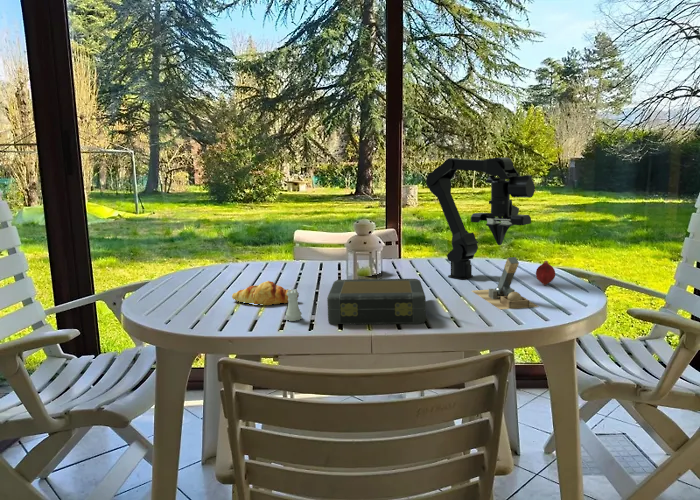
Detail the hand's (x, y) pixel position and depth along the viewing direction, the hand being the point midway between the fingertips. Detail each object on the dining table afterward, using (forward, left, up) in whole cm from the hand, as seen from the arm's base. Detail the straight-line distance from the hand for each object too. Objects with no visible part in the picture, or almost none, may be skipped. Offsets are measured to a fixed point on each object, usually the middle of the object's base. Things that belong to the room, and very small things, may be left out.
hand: (499, 244), depth 158 cm
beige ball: (+18, -24, -12) cm, 32 cm away
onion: (+12, +8, -13) cm, 20 cm away
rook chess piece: (-20, -69, -13) cm, 73 cm away
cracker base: (+13, -20, -13) cm, 27 cm away
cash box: (-8, -50, -14) cm, 52 cm away
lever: (+13, -19, -12) cm, 26 cm away
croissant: (-41, -65, -14) cm, 77 cm away
